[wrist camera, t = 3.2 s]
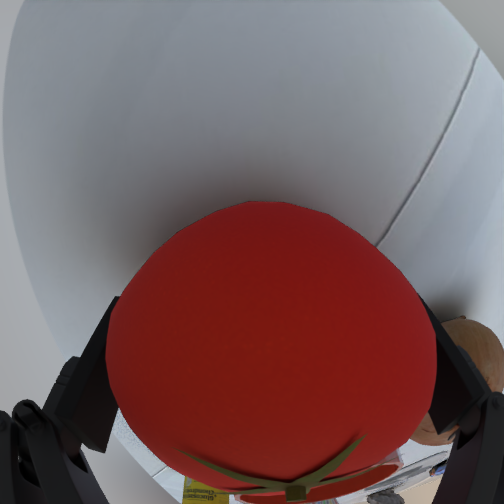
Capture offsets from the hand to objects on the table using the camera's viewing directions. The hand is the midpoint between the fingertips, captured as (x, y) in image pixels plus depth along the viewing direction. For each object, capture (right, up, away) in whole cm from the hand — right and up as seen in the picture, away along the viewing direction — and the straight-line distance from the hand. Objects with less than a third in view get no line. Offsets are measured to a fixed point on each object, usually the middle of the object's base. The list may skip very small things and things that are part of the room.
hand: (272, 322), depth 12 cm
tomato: (0, +1, +2) cm, 3 cm away
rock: (+47, -84, +48) cm, 107 cm away
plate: (+40, -58, +34) cm, 78 cm away
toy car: (+64, -70, +41) cm, 104 cm away
